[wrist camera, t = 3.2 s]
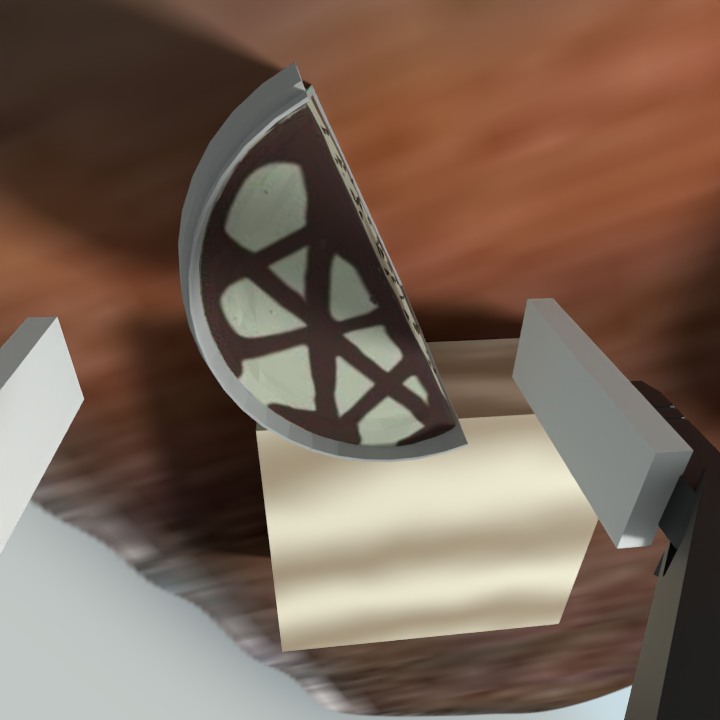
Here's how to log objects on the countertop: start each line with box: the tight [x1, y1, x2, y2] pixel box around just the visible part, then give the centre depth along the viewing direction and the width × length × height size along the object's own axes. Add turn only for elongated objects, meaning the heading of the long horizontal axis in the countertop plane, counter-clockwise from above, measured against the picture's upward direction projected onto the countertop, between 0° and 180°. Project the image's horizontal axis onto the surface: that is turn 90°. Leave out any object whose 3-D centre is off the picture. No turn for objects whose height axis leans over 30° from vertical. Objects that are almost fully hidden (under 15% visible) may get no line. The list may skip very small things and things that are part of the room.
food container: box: [178, 62, 469, 462], centre depth 19 cm, size 12×6×10 cm, turn 24°
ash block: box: [256, 338, 598, 652], centre depth 29 cm, size 16×16×6 cm
